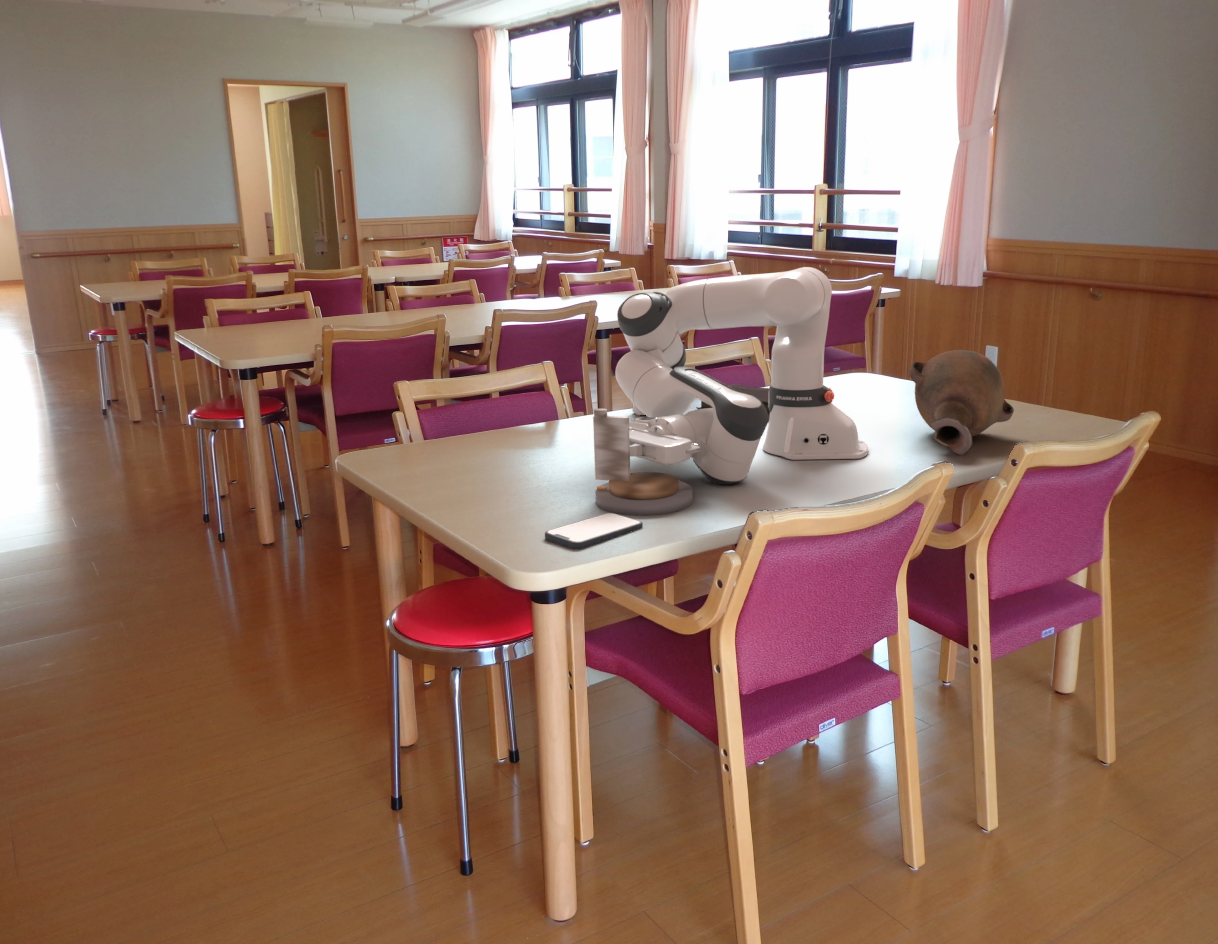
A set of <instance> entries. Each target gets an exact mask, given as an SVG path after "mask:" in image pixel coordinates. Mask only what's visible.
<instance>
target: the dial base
mask: <svg viewBox="0 0 1218 944" xmlns="http://www.w3.org/2000/svg"><path fill="white" fill-rule="evenodd" d="M693 492H694V490H693V487H692V486H691V485H690V484H688V483H686V482H685V481H682V480H681V481H680V480H679V491H678V492H677V493H675V494H673V495H671V496H667V497H663V498H657V499H627V498H621V497H618V496H615V495H613V494H611V493H610V492H609V481H608V482H605V483H603V484H601V485H599V486H596V489H595V490H594V493H595V495H594V496H595V504H596V506H597V507H598V508H599V509H602V510H604V511H607V512H608V513H615V514H618V515H624V516H625V515H626V516H657V515H664V514H665V515H666V514H670V513H671V514H672V513H675V512H678V511H681V510H684V509H687V508H688V507H689V506H691V505H692V504H693V500H694V499H693V498H694V493H693Z"/></svg>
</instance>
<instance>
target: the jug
mask: <svg viewBox="0 0 1218 944" xmlns="http://www.w3.org/2000/svg"><path fill="white" fill-rule="evenodd" d="M908 375H909V376H910V378H911V380H912V381H913V383H914V398H915V400H914V401H915V404H916V407H917V411H918V412H919V414H920V416H921V418H922V420H924V423H926V424H927V426H929V428H931V429H932V430H933V431H934V433H933V434H934V435H933V441H934V440H935V441H937V442H938V443H939V444H940V445H942V446H945V447H949V448H950V449H951V450H952V451H953V453H955V454H957V455H959V456H963V455H964V454H965V453H967V452H968V451H969V449H971V448H972V446H973V444H974V442H973V437H975V436H978V435H979V434H982V433H983V432H984V431H986V430H987V429H989V428H990V427H991V426H993V425H994V424H996V423H1003V422H1004V423H1005V422H1008V421H1009V420H1011V419H1012V416H1013V414H1014V411H1015V409H1014V407H1013V406H1012V405H1011V404H1010V403H1008V401H1006V386H1005V380H1004V377H1003V375H1002V372H1001V371H1000V369H999V368H998V367H997V366H996V364H995V363H994V362H993V361H992V360H991V359H990V358H988V357H987V356H985V355H984V354H983V353H979V352H977V351H973V350H968V349H966V350H965V349H955V350H950V351H945V352H941V353H939V354H937V355H935V356H933V357H931V358H930V359H928V360H927V361H925V362H923V361H914V362H913V363H911V365H910V367H909V369H908Z"/></svg>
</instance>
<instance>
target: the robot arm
mask: <svg viewBox="0 0 1218 944" xmlns="http://www.w3.org/2000/svg"><path fill="white" fill-rule="evenodd" d="M832 288H833V287H832V283H831V281H830V280H829V277H828V276H827V275H826V274H825V273H823V271H821V270H819V269H817V268H815V267H810V266H803V267H799V268H795V269H791V270H787V271H779V272H769V273H755V274H752V273H751V274H741V275H740V274H738V275H730V276H721V277H719V276H718V277H713V278H712V277H709V278H702V279H696V280H692V281H687V282H684V283H681V284H677V285H674V286H672V287H670V288H669V289H667V291H666V292H665V293H662V292H658V291H646V292H640V293H639V292H637V293H635V294H632V295H629V296H628V297H627V298H626V299H625V300H624V301H622V303H621V304H620V306H619V307H618V309H617V314H616V315H617V317H616V318H617V323H618V326H619V329H620V331H621V332H622V334H623V336H624V339H625V341H626V344H627V345H628V347H629V349H630V351H629V352H627V353H625V354H624V355H623V356H622V357H621V358H620V359H619V360H618V362H617V364H616V366H615V374H614V375H615V379H616V382H617V384H618V385H619V387H620V389H621V390H622V391H623V393H624V394H625V395H626V396H627V398H628V399H629V400H630V402H631V403H633V404H634V405H635V406H636V407H637V408H638V409H639V410H640V411H641V412H642V413H644V414H645V415H646V416H640V417H636V418H634V421H631V422H630V421H629V440H630V458H631V457H632V458H633V457H634V458H635V457H637V458H640V459H643V460H647V461H650V462H653V463H658V464H660V465H661V464H662V465H666V466H671V465H675V464H679V463H682V462H684V461H688V460H690V459H691V458H692V461H693V463H694V464H695V465H696V467H697V468H698V469H699V471H701V473H702V474H703V475H704V476H705V478H707V479H708V480H709V481H710V482H712V483H715V484H719V485H733V484H738V483H741V482H742V481H744V480H746V478H747V477H748V474H749V472H750V469H751V466H752V465H753V464H752V463H753V460H754V459H755V456H756V453H757V450H758V448H759V447H758V446H759V444H760V441H761V439H762V436H763V435H764V433H765V430H766V428H767V431H766V435H765V439H764V442H763V443H764V444H763V445H762V446H763V447H762V450H763V451H764V452H766V453H767V454H771V455H775V456H779V457H783V458H785V459H787V460H794V461H796V460H799V461H800V460H802V461H803V460H841V459H842V460H847V459H848V460H850V459H851V460H852V459H856V460H857V459H863V458H864V457H866V456H867V455H868V454H869V447H868V444H867V443H866V442H865V441H864V440H860V439H859V432H858V430H857V429H858V428H857V425H856V423H855V422H854V420H853V419H852V418H851V417H850V416H849V415H847V414H846V413H845V412H844V411H842V410H841V409H840V408H839V407H837V406H836V405H834V404H833V401H834V399H835V393H834V392H833V390H832V388H830V387H827V386H825V385H824V366H825V364H824V363H825V346H826V339H827V334H828V333H827V332H828V326H829V319H830V308H831V300H832V299H831V298H832V294H833V289H832ZM742 327H743V328H745V327H776V329H775V336H774V341H773V344H772V348H771V372H770V373H771V381H770V383H771V384H770V385H769V394H768V408H769V411H770V417H769V415H768V412H767V410H766V408H765V406H764V405H763V403H762V402H761V401H760V400H759V399H758V398H756V397H754V396H752V395H749V394H746V393H743V392H741V391H738V390H735V389H733V388H732V387H730V386H728V385H727V384H726V383H724V382H723V381H720V380H718V379H716V378H714V377H713V376H711V375H709V374H707V373H705V372H703V371H701V370H699V369H696V368H694V367H690V366H685V364H686V362H687V353H686V352H687V351H686V347H685V345H684V343H683V342H682V338H681V335H683V334H684V333H685V332H688V331H691V330H717V329H718V330H719V329H731V328H733V329H734V328H742ZM695 399H697V400H699V401H700V402H701V401H703V402H705V403H706V404H708V405H710V406H712V408H705V409H695V410H690V411H688V410H689V409H690V408H691V406H692V404H693V403H694V401H696V400H695ZM687 411H688V412H687Z"/></svg>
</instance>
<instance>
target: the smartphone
mask: <svg viewBox="0 0 1218 944" xmlns="http://www.w3.org/2000/svg"><path fill="white" fill-rule="evenodd" d="M643 525H644V524H643V521H641V520H638V519H636V518H635V519H634V518H631V517H628V516H625V515H622V514H618V513H613V512H607V513H604V514H599V515H597V516H593V517H590V518H586V519H583V520H580V521H577V522H573V523H569V524H566V525H562V526H559V527H556V528H553V529H549V530H546V531H545V532H544V540H545V541H547V542H550V543H553V544H556V545H558V546H561V547H565V548H568V549H570V550H577V551H578V550H582V549H586V548H588V547H591V546H594V545H597V544H600V543H603V542H606V541H608V540H612V539H614V538H618V537H621V536H623V535H627V534H629V533H632V532H635V531H637V529H638V530H640V528H641V529H642V528H643ZM634 530H635V531H634ZM631 531H632V532H631ZM620 535H621V536H620Z"/></svg>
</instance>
